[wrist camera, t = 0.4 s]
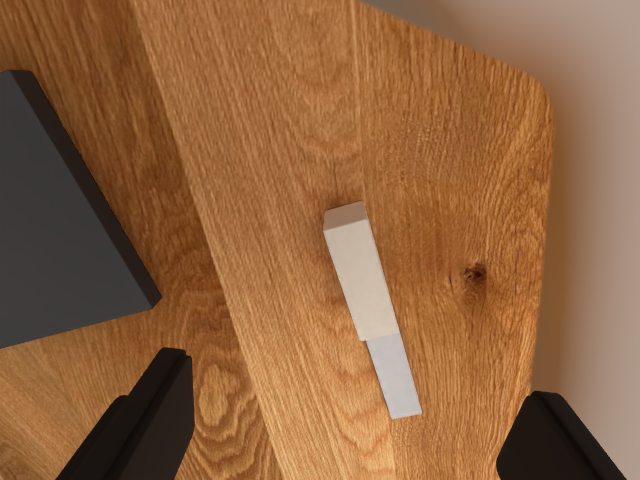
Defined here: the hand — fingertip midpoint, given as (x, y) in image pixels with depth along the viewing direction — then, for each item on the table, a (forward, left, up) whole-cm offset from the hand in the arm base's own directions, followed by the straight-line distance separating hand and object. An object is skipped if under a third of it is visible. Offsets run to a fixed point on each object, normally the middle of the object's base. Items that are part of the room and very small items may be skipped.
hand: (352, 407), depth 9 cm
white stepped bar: (+7, 0, -14) cm, 16 cm away
